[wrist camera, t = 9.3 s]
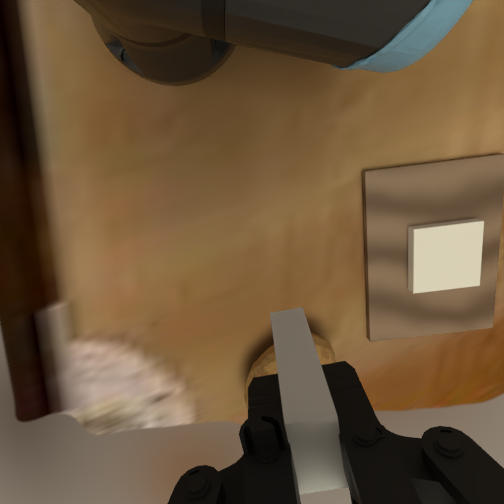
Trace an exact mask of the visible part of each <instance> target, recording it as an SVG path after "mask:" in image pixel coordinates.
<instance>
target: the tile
mask: <svg viewBox="0 0 504 504" xmlns="http://www.w3.org/2000/svg"><path fill="white" fill-rule="evenodd" d="M483 230H484V221H483V220H480V219H477V218H475V219H466V220H458V221H450V222H442V223H434V224H425V225H417V226H409V227H408V289H409V290H410V291H411V292H412V293H413V294H414V293H423V292H431V291H439V290H448V289H456V288H464V287H473V286H480V275H481V260H482V245H483Z"/></svg>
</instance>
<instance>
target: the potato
mask: <svg viewBox="0 0 504 504" xmlns="http://www.w3.org/2000/svg"><path fill="white" fill-rule="evenodd" d="M311 335H312V338H313V341H314V344H315V347H316V351H317V354H318V357H319V360H320V363H321V365H324V364H330V363H335V354H334V352H333V349H332V346H331V344H330V342H329V341H327V340H326V339H324V338H323V337H321V336H318V335H316V334H313V333H311ZM277 373H278V371H277V363H276V355H275V348H274V344H273V345H272V346H270V347H269V348H268V349H267V350H266V351H265V352H264V353H263V354H262V355H261V356H260V357H259V358H258V359H257V360H256V361H255V362H254V364H253V365H252V367H251V370H250V372H249V375H248V378H247V381H246V386H245V394H244V398H245V402H246V405H247V408H248V387H249V385H250V383H251V381H252V379H253V378H254V377H259V376H265V375H271V374H277Z"/></svg>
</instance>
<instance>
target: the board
mask: <svg viewBox="0 0 504 504" xmlns="http://www.w3.org/2000/svg"><path fill="white" fill-rule="evenodd" d="M362 189H363V220H364V252H365V283H366V314H367V338H368V339H369V341H370V342H375V341H383V340H392V339H400V338H409V337H417V336H426V335H434V334H443V333H451V332H460V331H468V330H477V329H485V328H493V318H494V306H495V293H496V281H497V269H498V256H499V244H500V231H501V219H502V207H503V194H504V154H493V155H485V156H477V157H469V158H461V159H453V160H445V161H437V162H429V163H421V164H413V165H405V166H397V167H389V168H381V169H373V170H365V171H362ZM475 218H477V219H480V220H483V221H484V230H483V245H482V260H481V275H480V286H473V287H464V288H456V289H448V290H439V291H431V292H423V293H414V294H413V293H412V292H411V291H410V290H409V289H408V227H409V226H417V225H425V224H434V223H442V222H450V221H458V220H466V219H475Z"/></svg>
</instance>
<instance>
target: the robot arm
mask: <svg viewBox="0 0 504 504" xmlns="http://www.w3.org/2000/svg"><path fill="white" fill-rule="evenodd" d="M74 1H75V2H76V3H78V4H79V5H80V6H81V7H82V8H84V9H85V10H86V11H87V12H89V13H90V14H91V17H92V20H93V22H94V25H95V27H96V29H97V31H98V33H99V35H100V37H101V39H102V40H103V42H104V43H105V45H106V46H107V48H108V49H109V50H110V52H111V53H112V54H113V55H114V56H115V57H116V58H117V59H118V60H119V61H120V62H121V63H122V64H123V65H125V66H126V67H127V68H129V69H130V70H131V71H133V72H134V73H136V74H138V75H139V76H141V77H143V78H145V79H147V80H149V81H152V82H155V83H159V84H163V85H172V86H178V85H187V84H191V83H194V82H197V81H200V80H202V79H204V78H206V77H208V76H209V75H211V74H212V73H214V72H215V71H216V70H217V69H218V68H220V67H221V66H222V65H223V63H224V62H225V61H226V60H227V59H228V57H229V56H230V54H231V53H232V51H233V49H234V47H235V45H236V44H237V45H242V46H247V47H251V48H256V49H261V50H265V51H270V52H275V53H279V54H284V55H289V56H294V57H298V58H303V59H308V60H312V61H317V62H322V63H326V64H330V65H331V66H333V67H334V68H337V69H340V70H345V69H347V70H353V69H362V70H368V71H375V72H381V73H386V72H393V71H398V70H401V69H404V68H406V67H408V66H409V65H411V64H413V63H415V62H417V61H418V60H420V59H421V58H422V57H424V56H425V55H426V54H427V53H428V52H430V51H431V50H432V49H433V48H434V47H435V46H436V45H437V44H438V43H439V42H440V41H441V40H442V39H443V38H444V37H445V36H446V35H447V34H448V33H449V31H450V30H451V29H452V28H453V27H454V25H455V24H456V23H457V22H458V21H459V19H460V18H461V17H462V15H463V14H464V13H465V11H466V10H467V8H468V7H469V6H470V4H471V3H472V1H473V0H74ZM270 317H271V325H272V332H273V340H274V348H275V355H276V363H277V371H278V373H277V374H271V375H265V376H259V377H254V378H253V379H252V381H251V383H250V385H249V387H248V419H247V420H246V421H245V422H244V424H243V425H242V426H241V428H240V433H239V436H240V440H241V444H242V448H243V451H244V454H243V456H242V457H241V458H240V459H239V460H238V461H237V462H236V463H234V464H233V465H231V466H229V467H227V468H225V469H223V470H221V471H219V472H218V471H217V470H216V469H215V468H214V467H211V466H207V465H203V466H197V467H194V468H192V469H190V470H188V471H187V472H186V473H185V474H184V475H182V476H181V477H180V479H179V481H178V482H177V484H176V486H175V488H174V490H173V493H172V495H171V497H170V499H169V502H168V504H301V502H300V496H299V495H300V494H306V493H312V492H319V491H325V490H332V489H338V488H345V487H348V486H349V490H350V495H351V501H352V504H504V468H503V467H502V466H500V465H499V464H498V463H497V462H496V461H495V460H494V459H493V458H492V457H491V456H489V454H487V453H486V452H485V451H484V450H483V449H482V448H481V447H480V446H479V445H477V444H476V443H475V442H474V441H473V440H472V439H471V438H470V437H469V436H467V435H465V434H464V433H463V432H461V431H459V430H457V429H454V428H451V427H443V426H438V427H433V428H430V429H428V430H427V431H425V432H424V434H423V436H422V438H412V437H405V436H400V435H397V434H394V433H392V432H390V431H388V430H387V429H386V428H385V427H384V426H383V425H381V424H380V422H379V421H378V419H377V417H376V415H375V413H374V411H373V408H372V406H371V404H370V402H369V400H368V397H367V395H366V393H365V391H364V389H363V386H362V384H361V382H360V381H359V378H358V375H357V373H356V371H355V369H354V368H353V367H352V366H351V365H349V364H348V363H347V362H346V361H342V362H336V363H330V364H324V365H321V363H320V360H319V357H318V354H317V351H316V347H315V344H314V341H313V338H312V335H311V332H310V329H309V326H308V322H307V319H306V316H305V313H304V310H303V307H301V308H296V309H290V310H284V311H279V312H273V313H270ZM347 483H348V485H347Z"/></svg>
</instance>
